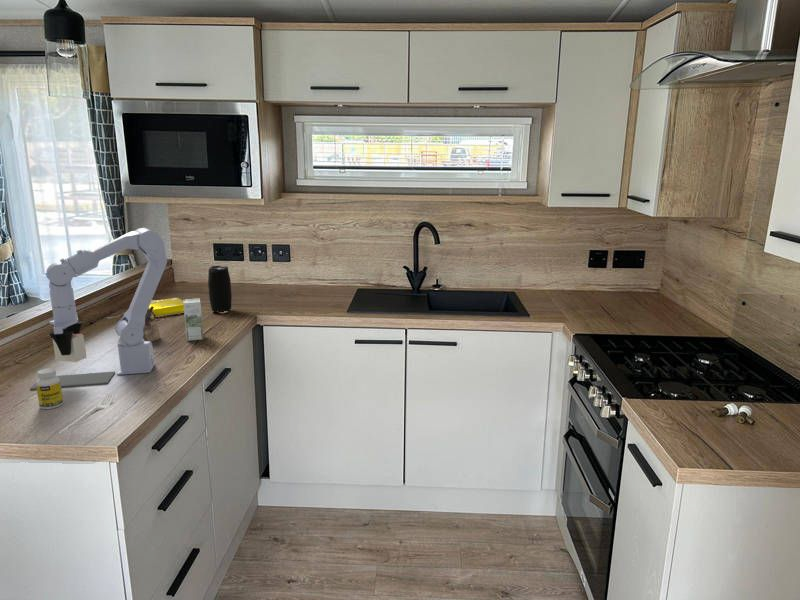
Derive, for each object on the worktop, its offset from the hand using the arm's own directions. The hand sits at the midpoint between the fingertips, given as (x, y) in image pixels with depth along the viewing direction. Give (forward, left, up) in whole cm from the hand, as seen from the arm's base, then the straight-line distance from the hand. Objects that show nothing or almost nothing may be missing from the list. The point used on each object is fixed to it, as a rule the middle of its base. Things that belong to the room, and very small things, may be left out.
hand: (70, 350), depth 164 cm
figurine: (-14, -38, -10) cm, 42 cm away
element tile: (-14, -78, -10) cm, 80 cm away
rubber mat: (0, 0, -9) cm, 9 cm away
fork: (-10, +26, -10) cm, 30 cm away
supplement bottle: (+1, +17, -10) cm, 20 cm away
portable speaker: (-37, -72, -10) cm, 82 cm away
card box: (0, 0, -2) cm, 2 cm away
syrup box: (-30, -35, -10) cm, 47 cm away
